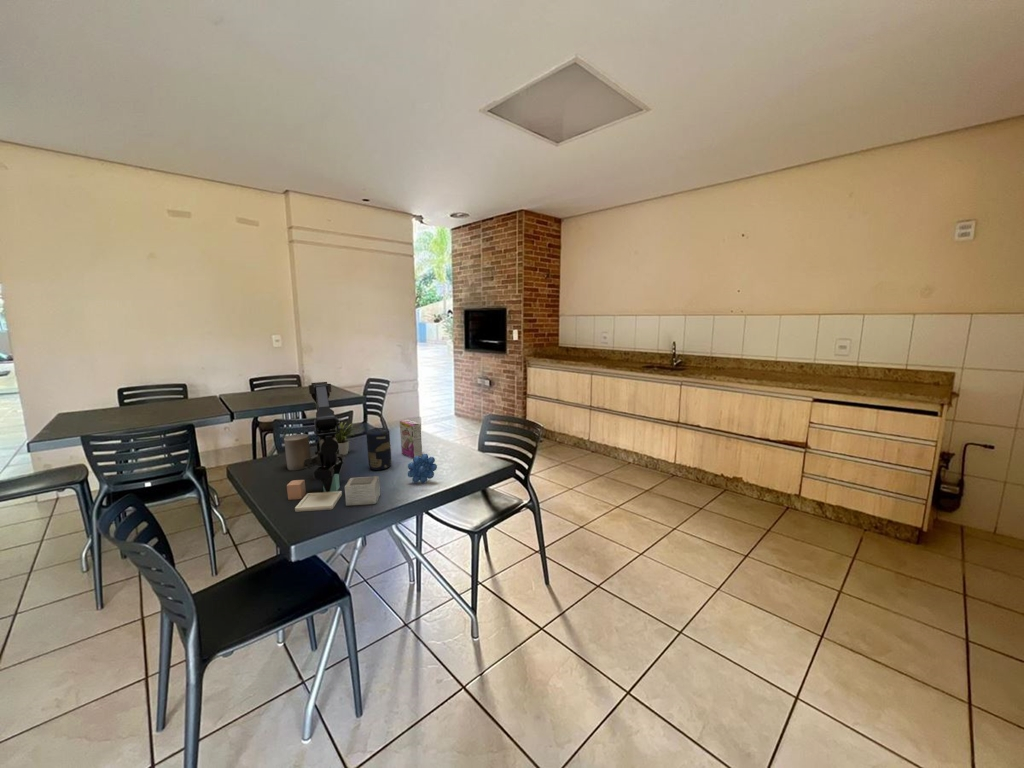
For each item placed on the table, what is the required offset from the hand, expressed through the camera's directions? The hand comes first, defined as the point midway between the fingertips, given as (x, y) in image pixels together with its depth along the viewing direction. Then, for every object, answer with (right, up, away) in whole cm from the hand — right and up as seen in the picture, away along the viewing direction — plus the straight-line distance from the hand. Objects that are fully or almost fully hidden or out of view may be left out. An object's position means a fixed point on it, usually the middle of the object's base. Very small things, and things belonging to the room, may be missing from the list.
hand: (331, 487), depth 155 cm
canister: (+11, +2, +24) cm, 26 cm away
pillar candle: (-26, +2, +26) cm, 36 cm away
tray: (0, -3, -11) cm, 11 cm away
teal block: (0, -1, 0) cm, 1 cm away
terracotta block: (-10, -2, -5) cm, 12 cm away
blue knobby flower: (+33, 0, +7) cm, 34 cm away
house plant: (-14, +5, +41) cm, 44 cm away
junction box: (+15, -2, -9) cm, 18 cm away
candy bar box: (+21, +5, +39) cm, 44 cm away
